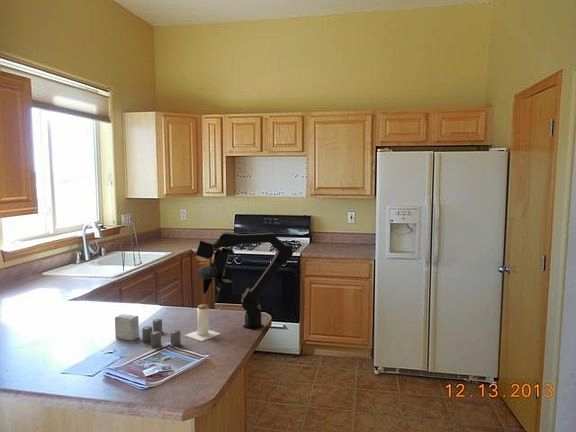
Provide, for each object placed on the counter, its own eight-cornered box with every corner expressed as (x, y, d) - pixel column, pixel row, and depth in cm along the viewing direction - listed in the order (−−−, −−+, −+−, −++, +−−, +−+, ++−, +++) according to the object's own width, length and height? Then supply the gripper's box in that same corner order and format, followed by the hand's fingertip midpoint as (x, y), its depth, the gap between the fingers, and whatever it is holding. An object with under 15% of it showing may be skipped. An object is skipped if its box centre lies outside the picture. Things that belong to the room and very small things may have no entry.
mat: (220, 334, 167) (220, 333, 167) (201, 341, 159) (201, 340, 159) (204, 329, 173) (204, 328, 173) (184, 336, 165) (184, 335, 165)
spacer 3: (163, 345, 155) (163, 332, 155) (154, 348, 152) (154, 335, 152) (157, 343, 157) (157, 330, 157) (149, 346, 155) (148, 333, 154)
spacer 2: (164, 332, 170) (163, 320, 169) (156, 334, 167) (156, 322, 166) (158, 330, 172) (158, 318, 171) (151, 332, 169) (150, 320, 169)
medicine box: (139, 337, 164) (139, 315, 163) (131, 341, 160) (131, 319, 159) (123, 335, 166) (122, 313, 166) (115, 338, 162) (114, 316, 162)
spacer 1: (154, 339, 161) (154, 326, 161) (149, 343, 158) (148, 330, 157) (146, 338, 162) (145, 325, 161) (140, 341, 159) (140, 329, 158)
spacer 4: (182, 344, 156) (182, 331, 156) (174, 347, 153) (174, 334, 153) (176, 342, 158) (176, 329, 158) (168, 345, 155) (168, 332, 155)
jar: (210, 333, 166) (210, 305, 166) (202, 336, 163) (202, 307, 162) (203, 331, 169) (203, 303, 168) (194, 334, 166) (194, 305, 165)
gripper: (191, 253, 173) (182, 289, 174) (217, 269, 160) (207, 307, 162) (213, 255, 181) (204, 289, 183) (239, 270, 169) (229, 306, 170)
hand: (210, 297), depth 174 cm, fingers open, 9 cm apart
